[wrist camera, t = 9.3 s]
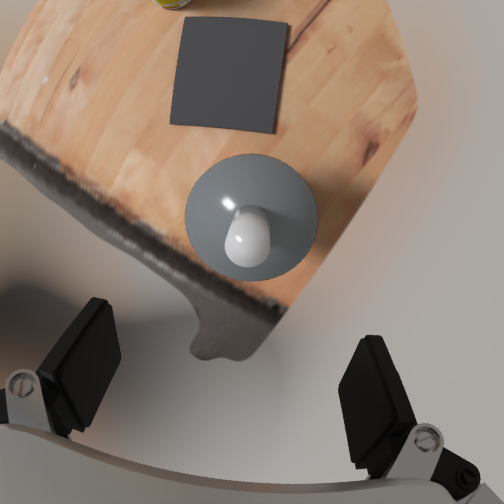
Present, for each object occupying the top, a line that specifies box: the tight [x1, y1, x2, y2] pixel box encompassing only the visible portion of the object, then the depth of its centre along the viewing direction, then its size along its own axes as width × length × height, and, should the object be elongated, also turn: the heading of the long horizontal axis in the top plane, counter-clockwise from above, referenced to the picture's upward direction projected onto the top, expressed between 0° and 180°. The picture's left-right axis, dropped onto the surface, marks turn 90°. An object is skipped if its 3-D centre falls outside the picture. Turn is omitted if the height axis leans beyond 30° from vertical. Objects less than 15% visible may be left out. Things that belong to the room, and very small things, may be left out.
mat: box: [170, 17, 288, 134], centre depth 29 cm, size 14×12×1 cm
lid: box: [185, 154, 318, 281], centre depth 23 cm, size 11×11×6 cm
